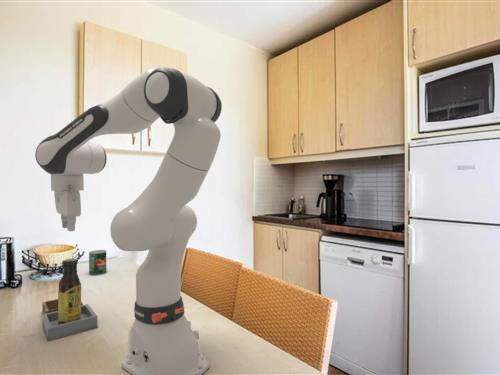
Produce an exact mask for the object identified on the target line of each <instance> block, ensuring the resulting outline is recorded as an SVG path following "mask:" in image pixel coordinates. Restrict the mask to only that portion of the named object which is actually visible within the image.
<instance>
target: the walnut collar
mask: <svg viewBox="0 0 500 375" xmlns="http://www.w3.org/2000/svg"><path fill="white" fill-rule="evenodd" d="M41 304H42V306H41V307H42V312H41V313H42V314H46V313H51V312H55V311H58V298H56V299H52V300H51V299H50V300H47V301H43V302H41ZM81 305H84V303H83V301H81Z"/></svg>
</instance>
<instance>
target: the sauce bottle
mask: <svg viewBox="0 0 500 375" xmlns="http://www.w3.org/2000/svg"><path fill="white" fill-rule="evenodd" d="M78 260H79V259H77V258H67V259H63V260H62V266H63V267H62V269H63V270H62V277H61V279H60V280H59V283H58V292H57V299H58V321H59V322H58V325H60V324H64V323H68V322H72V321H76V320H80V318H81V302H82V284H81V280H80V278H79V275H78Z"/></svg>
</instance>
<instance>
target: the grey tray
mask: <svg viewBox="0 0 500 375" xmlns="http://www.w3.org/2000/svg"><path fill="white" fill-rule="evenodd" d="M41 318H42V320H41V324H42V329H43V331H44V333H45V336H46V339H47V342H49V341H53V340H58V339H60V338H64V337H68V336H72V335H75V334H79V333H83V332H85V331H87V332H88V331H89V330H93V329H97V328H98V324H99V323H98V321H99V319H98V315H97V314H96V313H95V311H94V309H92V308H91V306H90V305H89V304H88V303H87V304H83V305H81V318H80V320H76V321H72V322H68V323H64V324H60V325H58V322H59V321H58V311H55V312H51V313H46V314H43V313H42V316H41Z"/></svg>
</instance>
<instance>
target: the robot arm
mask: <svg viewBox="0 0 500 375" xmlns="http://www.w3.org/2000/svg"><path fill="white" fill-rule="evenodd" d="M220 98H221V97H220V96H219V95H218V93H217V92H216V91H214V89H213V88H211V87H209V86H207V85H205V84H204V83H203V82H201V81H200V80H198V79H197V78H195V77H194V76H191V75H189V74H187V73H183V72H181V71H179V70H178V69H176V68H173V67H172V68H171V67H167V66H166V67H165V66H164V67H163V66H162V67H161V66H160V67H157V68H156V67H155V68H150V69H147V70H146V71H144V72H142V73H141V74H140V75H138V76H137V77H135V78H134V79H133V80H131V81H130V83H128V84H127V85H126V86H125V87H124V88H123V89H122V90H120V92H119V93H118V94H116V95H115V96H113V97H111V98H110V99H108V100H107V101H104V102H102V103H100V104H97V105H95V106H92V107H90V108H89V109H87V110H85V111H84V112H83V113H81V114H79V115H78V116H77V117H76V118H74V119H73V120H71V122H69V123H68V124H66V126H64V127H63V128H62V129H61V130H59V131H58V132H56V133H55V134H52V135H49V136H47V137H46V138H44V139H42V140H41V142H40V143H39V144H38V145H37V147H36V150H35V153H34V154H35V155H34V156H35V157H34V158H35V161H36V163H37V164H38V165H39V167H40V168H41V169H42V170H43V171H45V172H46V173H48V174H49V175H50V191H52V192H53V193H54V195H53V196H54V205H55V209H56V213H57V214H60V219H61V228H62V229H67V231H68V232H75V230H76V222H77V217H80V216H81V214H82V204H81V193H80V191H84V190H85V187H84V186H85V185H84V183H85V182H84V181H85V180H84V175H93V174H99V173H100V172H102V171H103V170H104V169H105V166H106V165H107V162H108V161H107V158H108V157H107V153H106V150H105V149H104V147H103V146H102V145H100V144H99V143H95V142H93V141H90V140H92V139H95V137H99V136H103V135H117V134H118V135H121V134H124V135H127V134H129V135H130V134H138V133H140V132H142V131H145V130H146V129H148V128H149V127H150V126H152V125H153V124H155V122H156V121H157V120H159V118H160V119H161V120H162V121H163V123H165V124H167V125H169V124H172V125H173V127H174V135H173V137H172V140H171V142H170V144H169V146H168V148H167V150H166V153H165V155H164V157H163V159H162V161H161V163H160V165H159V167H158V170H157V171H156V174H155V175H154V177H153V179H152V180H151V182H149V184H148V185H147V186H146V188H145V189H144V190H143V191H142V192H141V194H139V196H138V197H136V199H134V200H133V202H131V204H129V205H128V206H127V207H125V208H123V209H122V210H120V211H118V212H117V213H116V214H114V216H113V218H112V221H111V223H110V228H109V229H110V238H111V239H112V242H113V243H114V245H115V246H116V247H117V248H118V249H120V250H121V251H123V252H145V251H148V252H147V254H146V257H145V258H144V260H143V262H142V263H141V264H140V265H139V267H138V268H137V269H136V274H135V287H136V288H135V289H136V290H135V291H136V292H135V295H136V300H135V301H134V307H133V312H134V318H135V319H134V322H133V324H132V325H131V326H130V327H129V330H128V340H127V341H128V342H127V356H126V357H125V358H124V359H123V360H122V361H121V368H122V369H124V370H125V371H127V372H128V373H129V374H130V375H203V374H204V373H205V372H206V371H207V370H208V369H209V368H210V363H209V361H208V359H207V358H206V357H205V355H204V354H203V352H202V351H201V349H200V348H199V342H198V340H199V339H200V334H199V331H198V330H193V328H192V327H191V326H192V323H191V321H190V320H188V319H187V317H186V315H185V307H184V306H185V304H184V301H183V297H182V296H181V283H182V282H181V275H182V274H181V273H182V263H183V259H184V257H185V256H184V255H185V251H186V248H187V246H188V243H189V240H190V238H191V237H192V235H193V234H194V233H195V231H196V229H197V225H198V218H197V215H196V212H195V211H194V209H193V208H192V207H190V206H189V205H187V204H188V203H190V202H191V201H192V200H194V199H195V198H196V196H197V195H198V193H199V191H200V189H201V187H202V185H203V183H204V181H205V179H206V176H208V172H209V171H210V168H211V167H212V164H213V162H214V160H215V158H216V154H217V151H218V149H219V144H220V141H221V135H222V134H221V130H220V128H219V126H218V125H217V124H216V122H217V121H218V119H219V118H220V116H221V113H222V111H223V110H222V106H223V105H222V101H221V99H220Z"/></svg>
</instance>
